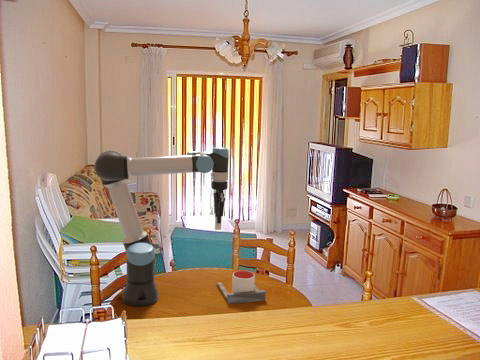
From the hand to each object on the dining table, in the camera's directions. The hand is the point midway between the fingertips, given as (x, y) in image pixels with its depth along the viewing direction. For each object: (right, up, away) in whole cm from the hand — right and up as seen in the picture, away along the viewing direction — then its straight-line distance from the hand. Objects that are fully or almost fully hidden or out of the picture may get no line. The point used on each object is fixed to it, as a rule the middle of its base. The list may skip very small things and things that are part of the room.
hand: (218, 229), depth 197 cm
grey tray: (+10, -28, -6) cm, 31 cm away
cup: (+12, -29, -10) cm, 33 cm away
